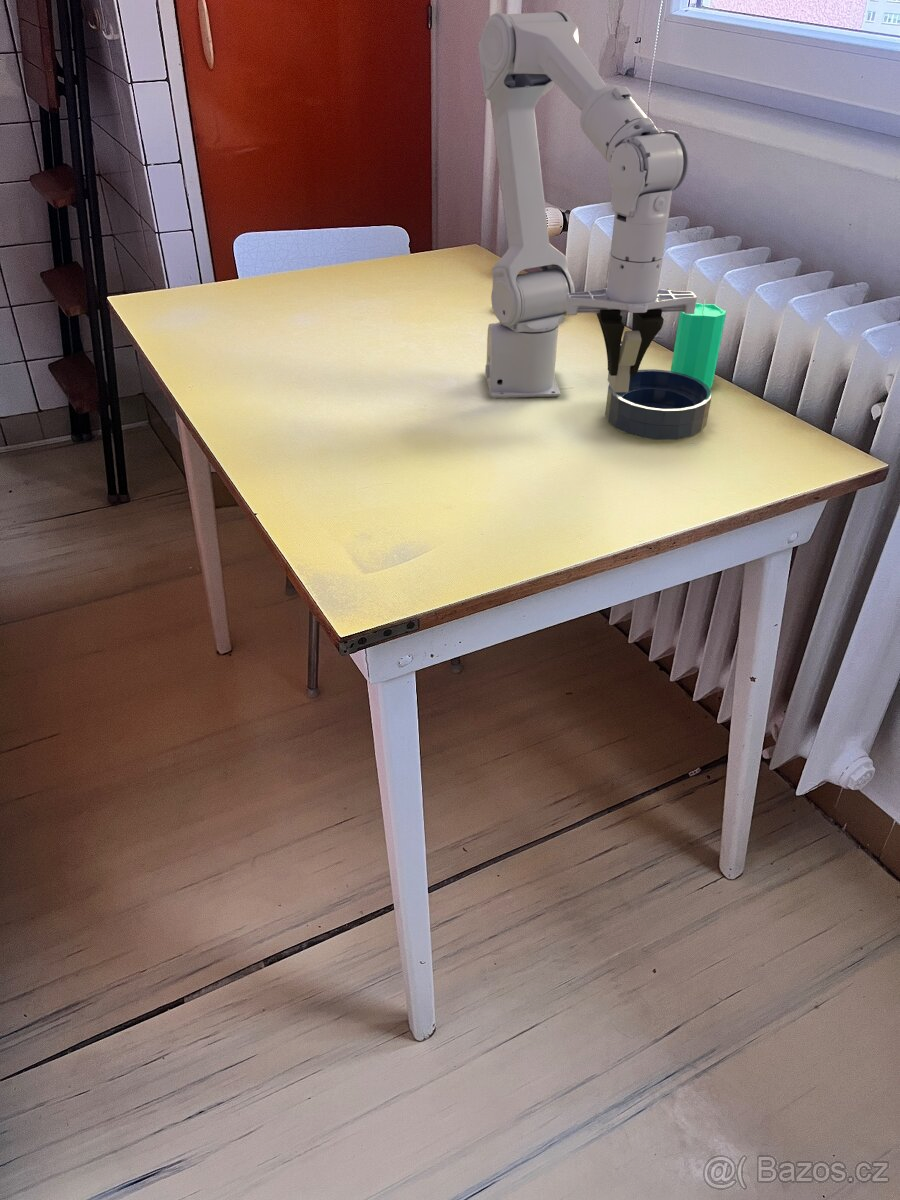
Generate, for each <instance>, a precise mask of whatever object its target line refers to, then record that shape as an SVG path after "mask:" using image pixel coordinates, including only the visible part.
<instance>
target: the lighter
mask: <svg viewBox="0 0 900 1200" xmlns="http://www.w3.org/2000/svg"><path fill="white" fill-rule="evenodd" d="M641 341H642V340H641V335H640V331H632V330H625V331H624V332H623V336H622V340H621V344H620V350H619V363H618V372H617V376H611V375H610V373H609V371H608V372H607V373H608V375H607V382H608V383H610V385H611V387H612V389H613V391H614V392H628V390H629V382H630V373H631V366H633V365H635V362H636V358H637V355H638V351H639V348H640V344H641Z"/></svg>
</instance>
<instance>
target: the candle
mask: <svg viewBox="0 0 900 1200" xmlns="http://www.w3.org/2000/svg"><path fill="white" fill-rule="evenodd" d="M703 300H704V301H703V303H700V302H696V306H695V312H694V314H685V313H684V312H679V316H678V322H677V328H676V335H675V341H674V346H673V347H674V348H673V354H672V360H671V365H670V371H673V372H677V373H682V374H686V375H688V376H691V377H694V378H696V379H698V380H700V381H702V382H703V383H705V384H706V385H707V386H708V387H709V389H710V390H711V388H712V387H713V386H714V385H713V384H714V380H715V374H716V370H717V364H718V359H719V353H720V348H721V342H722V337H723V332H724V326H725V321H726V315H727V310H724V309H723V308H721V307H719V306H718V305H716V304H715V303H706V300H707V297H704V299H703Z"/></svg>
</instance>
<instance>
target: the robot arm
mask: <svg viewBox="0 0 900 1200" xmlns="http://www.w3.org/2000/svg"><path fill="white" fill-rule="evenodd" d="M477 46H478V55H479V62H480V63H479V64H480V70H481V71H480V72H481V78H482V85H483V92H484V94H483V95H484V97H485V99H487V100H488V101H489V103H490V111H491V119H492V120H491V121H492V128H493V134H494V145H495V152H496V158H497V167H498V174H499V185H500V191H501V198H502V207H503V214H504V215H503V217H504V222H505V224H504V225H505V230H506V238H507V247H508V249H507V250H506V252H505V253H504V254H503V255H502V256H501V258H499V260H497V262H496V263H495V264H494V265H493V267H492V268H491V273H492V289H491V297H490V300H491V308H492V311H493V313H494V315H495V317H496V319H497V320H498V322H493V323H489V324H488V326H487V337H486V340H487V341H486V364H485V369H484V371H485V372H484V373H485V379H486V383H487V387H488V392H489V395H490V397H491V398H495V399H496V398H539V397H540V398H541V397H560V396H561V390H560V388H559V386H558V383H557V381H556V378H555V373H556V362H557V361H556V360H557V347H558V335H559V325H562V324H564V319H565V316H577V315H578V314H596V316H597V319H598V323H599V326H600V328H601V332H602V336H603V340H604V345H605V351H606V357H607V358H606V359H607V371H608V372H609V373H610V375H611V376H617V372H618V363H619V350H620V344H621V341H622V340H623V336H624V332H625V327H626V326H625V324H624V322H623V315H621V313H630V314H631V313H632V322H631V323H632V324H631V326H632V327H631V331H640V335H641V340H642V341H641V344H640V348H639V351H638V355H637V358H636V362H635V365H633V366H631V373H630V375H637V372H638V370H640V369H639V368H640V366H641V364H642V361H643V358H644V356H645V354H646V352H647V350H648V348H649V346H650V345H651V344H652V342H653V340H654V339H655V337H656V336H657V335H658V334H659V332H660V331H661V330H662V328H663V325H664V321H665V319H664V318H663V313H680V312H684V313H685V314H694V312H695V306H696V303H697V300H698V297H697V295H696V294H695V292H693V291H684V290H683V291H682V290H673V289H672V290H670V289H661V288H660V287H659V286H660V281H661V280H660V279H661V273H662V265H663V258H664V251H665V244H666V238H667V232H668V231H667V230H668V224H669V217H670V210H671V202H672V196H673V192H674V191H676V190H678V189H679V188H680V187H681V186H682V184H683V183H684V181H685V180H686V178H687V174H688V169H689V152H688V149H687V146H686V143H685V141H684V140H683V138H682V137H681V134H680V133H679V132H677V131H676V130H664V129H662V128H661V127H656V125H655V123H654V122H653V120H652V119H651V118H650V117H648V116H647V115H646V114H645V112H644V111H643V110H642V108H640V106H638V104H637V103H636V101H634V99H633V98H632V97H631V95H632V91H630V89H629V88H628V87H627V86H626V85H625V86H620V85H618V84H609V85H606V83H605V82H604V80H603V78H602V77H601V76H600V74H599V73H598V71H597V70H596V68H595V66H594V65H593V63H592V62H591V61H590V59H589V58H588V56H587V54H586V53H585V52H584V50H583V48H582V47H581V45H579V28H578V25H577V24H576V23H574V22H573V21H572V19H571V17H570V16H569V14H568V13H567V12H565V11H563V10H561V9H560V10H559V9H558V10H554V11H550V12H549V11H548V12H527V13H503V12H494V13H492V14H491V15H490V16H489V17H488V18H487V20H486V22H485V25H484V27H483V30H482V33H481V37H480V39H479V42H478V44H477ZM555 85H556V86H557V88H559V89H560V91H561V92H562V93H563V94H564V95H565V96H566V97H567V98H568V99H569V100H570V101H571V102H572V103H573V104H574V105H575V106H576V107H577V109H579V110H580V111H581V113H580V118H579V125H580V128H581V130H582V132H583V133H584V134H585V136H586V137H587V138H588V139H589V141H590V142H591V143H592V145H593V146H594V147H595V148H596V150H597V151H598V152H599V153H600V155H601V156H602V157H603V158H604V160H605V161H606V162H607V178H608V181H609V186H610V188H611V200H610V205H611V209H612V211H613V212H614V218H613V227H612V236H611V244H610V254H609V263H608V271H607V280H606V287H605V288H599V289H593V290H592V289H591V290H585V291H577V292H576V291H575V283H574V282H573V278H572V277H571V274H570V271H569V268H568V260H567V256H566V254H564V253H562V252H561V251H560V250H558V248H556V247H554V246H553V245H552V244H551V243H550V238H549V237H550V236H549V230H548V220H547V213H546V212H547V211H546V202H545V192H544V184H543V175H542V165H541V157H540V149H539V139H538V132H537V121H536V113H535V111H536V110H535V108H536V106H537V104H538V102H539V101H540V98H541V97H543V96H545V95H546V94H548V93H549V92H550V91H551V89H552V88H553V87H554V86H555ZM534 268H539V269H540V270H536V271H531V272H530V271H529V272H524V273H520V272H521V271H524V270H528V269H534Z"/></svg>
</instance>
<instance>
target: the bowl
mask: <svg viewBox="0 0 900 1200" xmlns="http://www.w3.org/2000/svg"><path fill="white" fill-rule="evenodd" d="M608 383H609V382H608ZM712 395H713V393H712V390H711V388H710V389H709V387H708V386H707V385H706V384H705V383H703V382H702V381H700V380H698V379H696V378H694V377H691V376H688V375H686V374H682V373H677V372H673V371H671V370H665V369H657V368H656V369H655V368H653V369H638V372H637V375H630V382H629V390H628V392H614V391H613V389H612V387H611V385H610V383H609V384H608V387H607V395H606V403H605V412H604V416H605V417H606V418H605V419H606V420H607V422H608V423H609V424H610V425H611V426H613V427H614V428H615V429H617V430H619V431H621V432H622V433H625V434H627V435H631V436H634V437H637V438H642V439H646V440H655V441H675V440H681V439H682V440H683V439H687V438H691V437H693V436H695V435H698V434H700V433H701V432H702V431H703V430H704V429H705V428H706V427H707V423H708V418H709V413H710V407H711V402H712Z"/></svg>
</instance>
